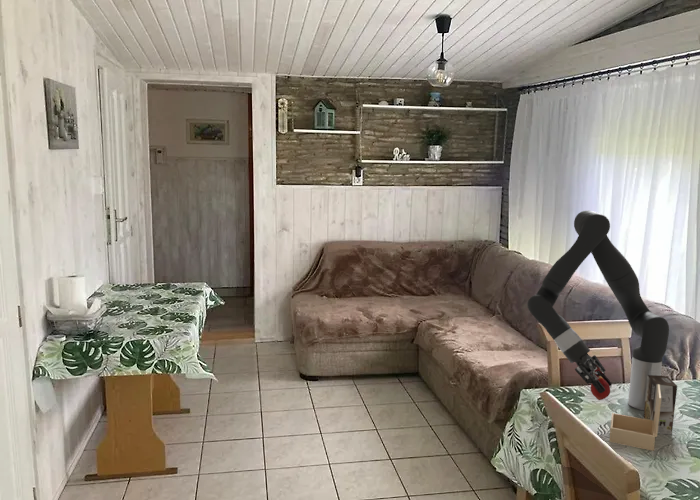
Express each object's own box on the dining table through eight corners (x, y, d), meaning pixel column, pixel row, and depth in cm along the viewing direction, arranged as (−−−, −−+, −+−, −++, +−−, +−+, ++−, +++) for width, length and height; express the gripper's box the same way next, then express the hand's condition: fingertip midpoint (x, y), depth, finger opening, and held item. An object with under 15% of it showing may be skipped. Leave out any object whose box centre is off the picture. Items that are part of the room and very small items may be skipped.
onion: (608, 397, 189) (610, 374, 188) (610, 404, 184) (612, 380, 182) (589, 395, 191) (591, 372, 190) (590, 402, 185) (592, 378, 184)
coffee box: (672, 435, 181) (678, 386, 179) (650, 432, 182) (655, 384, 180) (663, 422, 190) (668, 375, 187) (642, 420, 191) (646, 373, 189)
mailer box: (610, 426, 187) (615, 377, 184) (654, 434, 181) (659, 384, 179) (609, 441, 176) (614, 390, 173) (655, 451, 170) (661, 398, 168)
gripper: (572, 344, 184) (608, 389, 178) (587, 334, 194) (622, 377, 189) (554, 356, 188) (589, 401, 182) (571, 346, 199) (604, 388, 193)
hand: (606, 388), depth 185 cm, fingers closed on onion, 5 cm apart
